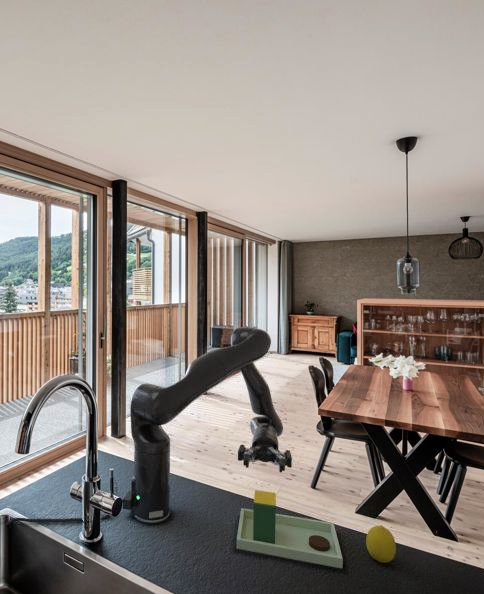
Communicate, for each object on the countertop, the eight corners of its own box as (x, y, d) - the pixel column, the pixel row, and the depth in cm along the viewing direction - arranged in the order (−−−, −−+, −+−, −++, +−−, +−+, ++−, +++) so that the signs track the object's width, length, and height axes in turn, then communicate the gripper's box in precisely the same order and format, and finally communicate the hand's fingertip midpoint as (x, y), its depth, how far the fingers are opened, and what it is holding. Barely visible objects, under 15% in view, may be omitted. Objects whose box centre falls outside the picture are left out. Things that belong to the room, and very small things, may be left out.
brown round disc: (310, 549, 91) (310, 545, 91) (307, 538, 95) (307, 533, 95) (331, 553, 90) (331, 548, 90) (327, 541, 94) (327, 536, 94)
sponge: (252, 542, 93) (253, 503, 93) (254, 526, 100) (254, 489, 99) (275, 546, 92) (275, 507, 92) (274, 529, 98) (275, 492, 98)
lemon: (399, 573, 85) (400, 535, 84) (370, 569, 86) (371, 531, 85) (389, 556, 90) (390, 520, 90) (362, 552, 91) (363, 517, 91)
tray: (236, 550, 91) (236, 539, 91) (241, 518, 104) (241, 507, 104) (342, 571, 85) (342, 558, 85) (333, 533, 98) (333, 522, 98)
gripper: (241, 429, 125) (236, 448, 109) (290, 434, 121) (292, 455, 105) (240, 453, 125) (235, 476, 110) (290, 459, 121) (292, 484, 105)
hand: (263, 466), depth 107 cm, fingers open, 8 cm apart
